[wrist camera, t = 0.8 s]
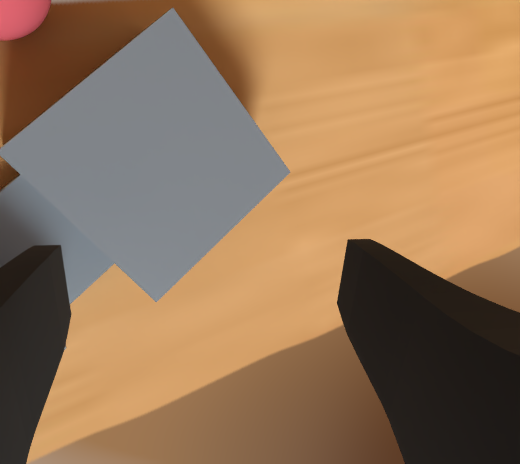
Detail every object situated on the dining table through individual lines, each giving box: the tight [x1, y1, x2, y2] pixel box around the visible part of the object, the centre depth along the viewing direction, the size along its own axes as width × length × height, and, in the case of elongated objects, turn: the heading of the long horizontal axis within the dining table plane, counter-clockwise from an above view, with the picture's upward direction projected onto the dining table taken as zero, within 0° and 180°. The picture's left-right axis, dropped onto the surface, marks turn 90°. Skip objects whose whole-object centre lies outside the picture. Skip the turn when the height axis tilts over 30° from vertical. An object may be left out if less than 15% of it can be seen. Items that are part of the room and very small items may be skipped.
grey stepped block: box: [0, 8, 290, 350], centre depth 25 cm, size 17×10×6 cm, turn 128°
